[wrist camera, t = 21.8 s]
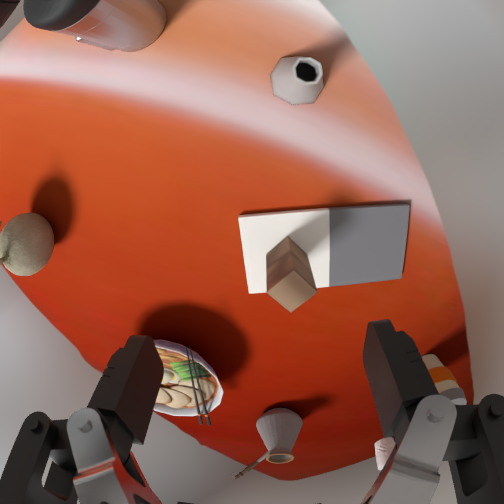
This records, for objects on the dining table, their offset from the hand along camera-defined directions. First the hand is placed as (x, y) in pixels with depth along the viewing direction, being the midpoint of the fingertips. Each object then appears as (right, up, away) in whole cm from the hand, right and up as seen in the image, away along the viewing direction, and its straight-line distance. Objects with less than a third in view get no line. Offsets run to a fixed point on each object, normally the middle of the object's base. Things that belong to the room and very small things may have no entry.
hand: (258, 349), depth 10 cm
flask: (+6, +26, +24) cm, 36 cm away
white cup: (+44, -59, +66) cm, 99 cm away
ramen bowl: (-17, -19, +48) cm, 54 cm away
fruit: (-39, +8, +35) cm, 53 cm away
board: (+12, +4, +35) cm, 37 cm away
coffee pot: (+3, -40, +58) cm, 71 cm away
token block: (+5, +3, +34) cm, 35 cm away
